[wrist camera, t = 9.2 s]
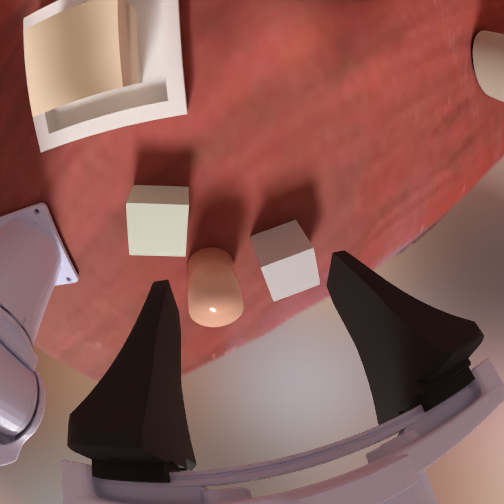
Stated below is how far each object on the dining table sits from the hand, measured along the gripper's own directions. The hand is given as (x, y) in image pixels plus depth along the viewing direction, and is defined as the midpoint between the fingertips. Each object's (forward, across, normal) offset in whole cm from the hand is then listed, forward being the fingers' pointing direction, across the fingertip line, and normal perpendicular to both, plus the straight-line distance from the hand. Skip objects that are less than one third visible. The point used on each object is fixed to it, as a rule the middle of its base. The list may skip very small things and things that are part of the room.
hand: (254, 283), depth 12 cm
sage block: (+10, +5, +1) cm, 11 cm away
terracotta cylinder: (+10, +2, +7) cm, 12 cm away
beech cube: (+9, +7, -11) cm, 16 cm away
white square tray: (+10, +7, -11) cm, 16 cm away
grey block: (+10, -4, +6) cm, 12 cm away
